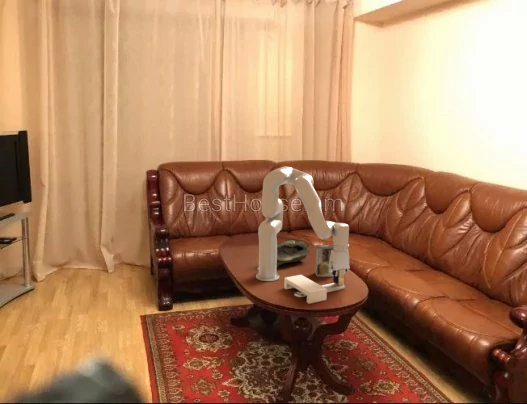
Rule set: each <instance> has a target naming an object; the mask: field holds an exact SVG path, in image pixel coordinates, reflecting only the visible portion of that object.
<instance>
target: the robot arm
mask: <svg viewBox="0 0 527 404" xmlns="http://www.w3.org/2000/svg"><path fill="white" fill-rule="evenodd" d="M314 181H315V180H314V179H313V177H312V175H311V174H309V173H307V172H304V171H302V170H301V171H300V170H298V169H296V168H294V167H290V166H286V165H285V166H282V167H278V168H275V169H274V170H272V171H269V172H268V173H267V174H266V175H265V177H264V179H263V182H262V196H261V209H260V210H261V214H262V216H264V218H265V219H264V220H263V221H262V222H261V223H260V224H259V226H258V232H257V233H258V267H257V268H256V269H257V270H258V272H257V273H256V274H255V278H256V279H257V280H259V281H264V282H274V281H277V280H279V279H280V274H278V272H277V268H278V267H277V243H278V240H277V234H278V233H279V232H280V231H282V229H283V221H284V218H283V217H284V203H283V201H282V199H280V198H279V196H280V189H279V187H280V186H282V185H285V184H289V185H291V186H294V189H295V191H296V193H297V195H298V197H299V198H300V200H301V202H302V204H303V206H304V208H305V211H306V214H307V218H308V220H309V223H310V225H311V227H312V229H313V231H314V233H315V235H316V236H317V237H318V238H319V239H321V240H328V239H329V238H330V237H331V236H332V238H333V241H332V246H333V250H331V253H330V258H329V270H328V271H329V272H331V273H332V274H333V277H332V278H333V280H332V283H336V284H338V270H341V269H345V270H344V276H345V275H346V273H347V271H348V270H350V268H351V266H350V253H349V252H350V251H349V247H350V244H349V235H350V234H349V233H350V226H349V224H347V223H344V222H334V221H330V220H325V217H324V215H323V211H322V200H321V198H320V196H319V195H318V193H317V191H316V189H315V187H314V184H315V183H314ZM332 269H333V271H332ZM335 271H336V272H335Z"/></svg>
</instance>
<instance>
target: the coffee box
mask: <svg viewBox="0 0 527 404" xmlns="http://www.w3.org/2000/svg"><path fill="white" fill-rule="evenodd" d="M331 250H333V244H329V245H328V244H319V245H318V244H316V246H315V272H314V273H315V276H316V277H326V278H327V277H332V278H333V276H334V275H333V274H332V273H331V272H329V271H328V270H329V258H330V253H331ZM332 271H333V269H332Z"/></svg>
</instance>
